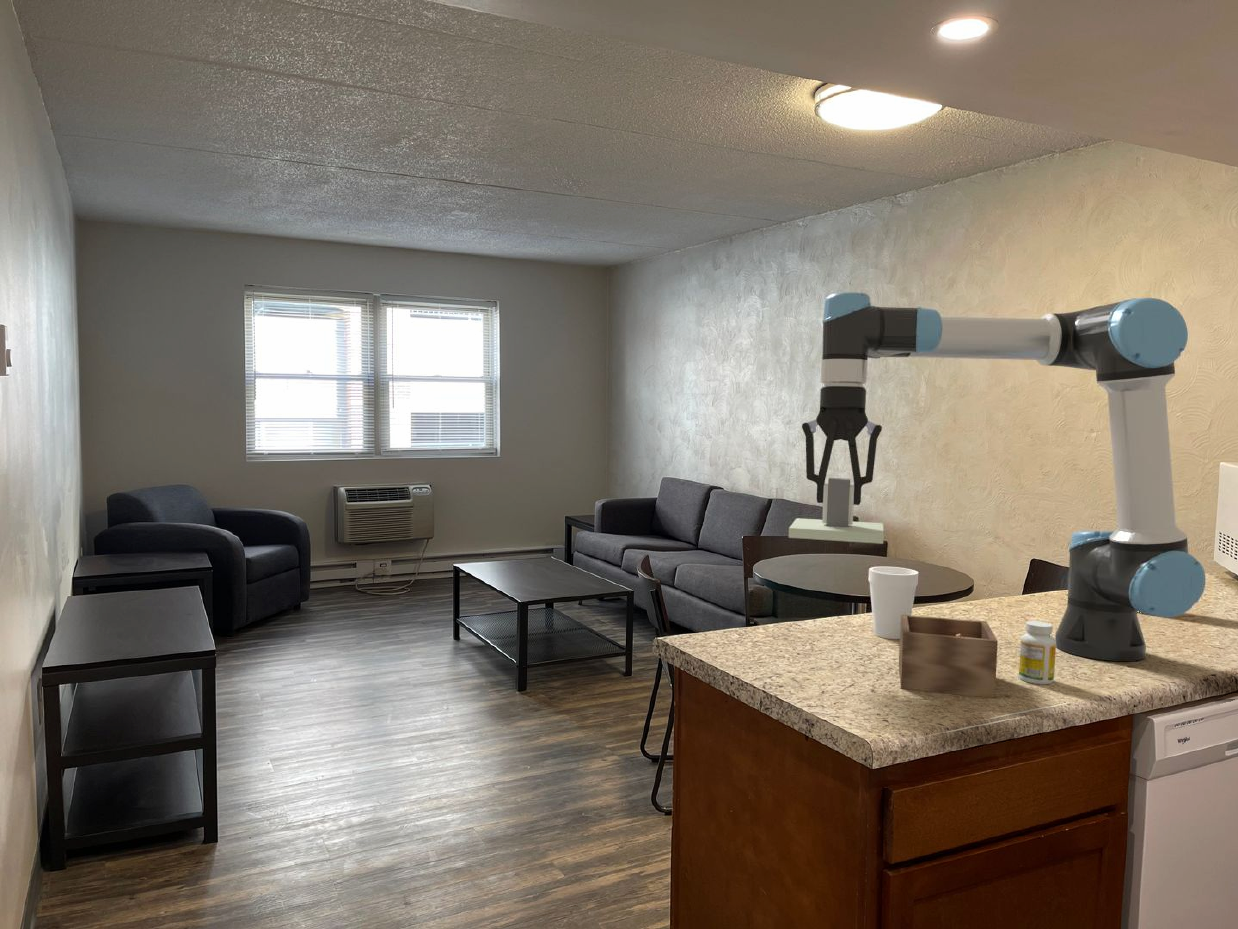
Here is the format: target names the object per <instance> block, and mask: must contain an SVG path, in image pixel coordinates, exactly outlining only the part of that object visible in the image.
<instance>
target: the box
mask: <svg viewBox="0 0 1238 929" xmlns="http://www.w3.org/2000/svg"><path fill="white" fill-rule="evenodd" d="M957 634H961V635H962V636H963V637H958V636H956V635H957ZM997 662H998V640H997V638H996V635H995V634H994V632H993V631H992V629H991V627H990V625H989V622H988V621H986V620H985V621H984V620H975V619H960V618H949V617H948V618H947V617H936V616H923V615H912V614H911V615H901V623H900V639H899V651H898V671H899V672H898V673H899V682H900V688H901V689H903V690H913V691H921V692H922V691H924V692H932V693H941V694H942V693H943V694H951V695H960V696H970V697H980V698H988V699H989V698H990V699H995V698H996V682H997V666H998V665H997Z"/></svg>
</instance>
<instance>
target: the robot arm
mask: <svg viewBox="0 0 1238 929" xmlns="http://www.w3.org/2000/svg"><path fill="white" fill-rule="evenodd" d="M823 309H824V310H823V318H822V319H823V320H822V322H821V323H822V354H821V355H822V358H821V368H820V372H821V373H820V382H821V383H822V384H824V385H823V386H822V387H821V388H820V391H819V392H820V393H819V394H820V396H819V398H820V399H819V411H818V412H819V413H818V414H817V415H816V419H813V420H811V421H808V422H803V423H802V424H801V429H802V431H803V434H804V435H805V464H806V465H805V466H806V469H805V470H806V472H805V473H806V479H807V480H808V481H811V482H814V483H815V484H816V503H817V504H822V519H821V520H822V523H827V501H828V483H826V480H827V479H826V478H827V474H828V469H829V466H830V465H829V464H830V460H831V456H832V452H833V448H834V443H835V441H839V440H842V441H846V442H847V445H848V451H849V457H850V464H851V471H852V478H853V485H851V484H850V488H849V511H848V525H853V522H854V506H860V504H861V502H862V487H863V486H864V485H866V484H870V483H872V482H873V478H874V470H875V462H876V452H877V444H878V443H877V442H878V438H879V435H880V434H881V432H882V430H883V427H882V425H881V424H877V423H874V422H872V421H869V420H868V419H869V418H868V416H867V413H866V404H867V403H866V402H867V400H866V399H867V389H866V387H864V385H865V384H866V383H867V377H868V376H867V375H868V359H875V360H876V359H880V358H923V359H925V358H927V359H928V358H929V359H933V358H934V359H969V360H970V359H973V360H974V359H976V360H978V359H982V360H983V359H984V360H1019V361H1020V360H1021V361H1022V360H1026V361H1027V360H1031V361H1032V360H1033V361H1036V362H1037V363H1038V364H1039V365H1040V366H1045V367H1047V366H1048V367H1049V366H1051V367H1064V368H1074V369H1082V370H1088V371H1095V376H1096V383H1097V385H1098V386H1100V387H1101V388H1103V389H1104V390H1105V391H1106V392H1107V402H1108V413H1109V414H1108V415H1109V427H1110V438H1111V439H1110V440H1111V451H1112V452H1111V453H1112V463H1113V476H1114V477H1113V478H1114V479H1113V480H1114V488H1115V489H1114V490H1115V502H1116V503H1115V504H1116V515H1117V525H1118V526H1117V528H1116V529H1115V530H1113V531H1111V530H1110V531H1107V530H1079V531H1075V532H1074V533H1073V534H1072V535H1071V538H1070V539H1071V540H1070V544H1069V545H1070V546H1069V548H1068V552H1069V565H1068V566H1069V568H1068V584H1067V604H1066V605H1067V606H1066V608H1065V612H1064V614H1063V616H1062V618H1061V620H1060V623H1059V624H1058V628H1057V630H1056V632H1055V638H1054V639H1055V641H1056V649H1059V650H1061V651H1063V652H1064V653H1065V652H1066V653H1068V654H1072V655H1075V656H1079V657H1083V658H1089V659H1095V660H1102V661H1103V660H1104V661H1113V662H1135V661H1136V660H1137V661H1140V660H1143V658H1144V659H1145V658H1146V652H1147V651H1146V650H1147V646H1146V641H1145V638H1144V634H1143V631H1142V627H1141V624H1140V621H1139V617H1138V612H1137V611H1139V612H1141V613H1143V614H1142V615H1148V616H1154V617H1159V618H1174V617H1178V616H1180V615H1183V614H1185V613H1186V612H1188V611H1190V610H1191V609H1193V606H1194V605H1195V604H1197V603H1198V602H1199V601H1200V599H1201V598H1202V596H1203V593H1204V591H1205V587H1206V584H1207V583H1206V582H1207V580H1206V579H1207V578H1206V573H1205V569H1204V567H1203V565H1202V564H1201V562H1200V561H1198V560H1197V558H1196V557H1195V556H1193V555H1192V554H1190V553H1189V546H1188V545H1189V544H1188V534H1187V533H1185V531H1183V530H1182V529H1180V528H1179V527H1177V525H1176V524H1177V522H1176V512H1175V511H1176V510H1175V499H1174V484H1173V471H1172V459H1171V457H1172V456H1171V444H1170V432H1169V418H1168V403H1167V392H1166V389H1167V388H1166V387H1167V385H1168V384H1169V382H1170V381H1171V380H1172V379H1173V378H1174V377H1176V369H1175V361H1176V360H1178V359H1179V358H1180V357H1181V355H1182V353H1183V351H1184V350H1185V349H1186V346H1187V344H1188V343H1187V342H1188V338H1189V332H1188V327H1187V323H1186V321H1185V319H1184V316H1183V315H1182V314H1181V312H1180V311H1179V310H1178V309H1177V308H1176V307H1175V306H1173V305H1172V304H1170V303H1169V302H1168V301H1166V300H1163V299H1160V298H1155V297H1141V298H1136V297H1135V298H1134V297H1133V298H1131V299H1127V300H1125V299H1124V300H1122V301H1119V302H1113V303H1109V304H1108V303H1107V304H1105V305H1099V306H1094V307H1090V308H1086V309H1081V310H1077V311H1071V312H1062V313H1053V312H1052V313H1051V312H1049V313H1045V314H1043V315H1042V316H1040V317H1039V318H1015V317H1012V318H1010V317H1009V318H1007V317H959V316H958V317H956V316H955V317H954V316H950V317H949V316H941V314H940V312H939V311H938V310H936V309H933V308H925V307H920V306H918V307H893V306H891V307H889V306H888V307H885V306H883V307H882V306H876V305H872V303H871V297H870V295H869V294H868V293H863V292H855V291H853V292H852V291H849V292H848V291H847V292H846V291H845V292H836V293H831V294H830V295H828V296H827V297H826V298H825V301H824V308H823ZM817 427H819V428H820V429H821V431H822V432H823V434H824V435H825V437H826V440H825V444H824V450H823V454H822V458H821V462H820V465H819V466H820V467H819V471H818V474H816V473H815V440H814V438H815V436H814V434H815V433H816V432H817ZM865 427H866V428H867V435H869V442H868V449H867V451H868V452H867V460H866V469H865V475H864V476H862V475H861V469H860V461H859V455H858V447H857V437H858V435H859V434H860V433H861V432H862V431H863V430H864V428H865ZM1141 613H1140V614H1141Z"/></svg>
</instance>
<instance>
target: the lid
mask: <svg viewBox="0 0 1238 929" xmlns="http://www.w3.org/2000/svg"><path fill="white" fill-rule="evenodd" d="M827 484H828V501H827V523H822V519H817V518H801V517H800V518H799V517H797V518H795V519H794V521H793V522H792V524H791V525H790V526H789V528H788V539H789V538H790V539H803V540H804V539H806V540H807V539H808V540H820V541H836V542H849V543H850V542H853V543H867V544H879V545H880V544H882V545H883V544H884V523H883V522H870V521H869V522H866V521H853V525H848V511H849V488H850V485H851V478H844V477H843V478H841V477H840V478H839V477H829V478H828V480H827Z"/></svg>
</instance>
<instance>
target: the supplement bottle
mask: <svg viewBox="0 0 1238 929" xmlns="http://www.w3.org/2000/svg"><path fill="white" fill-rule="evenodd" d="M1053 626H1054V625H1052V624H1051V623H1049V622H1044V621H1039V620H1029V621H1026V623H1025V631H1026V632H1027V633H1023V635H1022V636H1021V637H1020V650H1019V665H1018V666H1019V668H1018V677H1019V679H1020V680H1022V681H1024V682H1026V683H1030V684H1035V685H1050V684H1052V683H1053V682H1054V678H1055V664H1056V649H1057V647H1056V641H1055V638H1054V637H1053V636H1051V635H1052V634H1053V632H1054V631H1053V628H1054V627H1053Z"/></svg>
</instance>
